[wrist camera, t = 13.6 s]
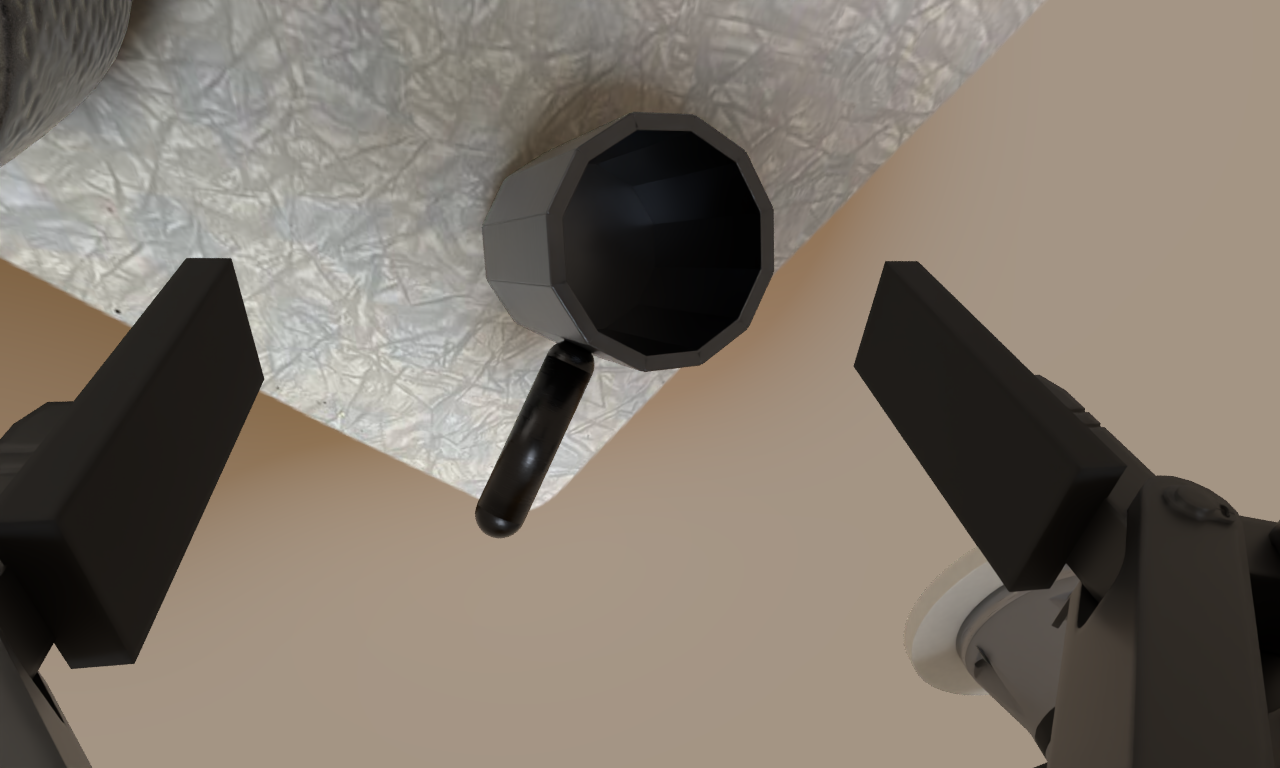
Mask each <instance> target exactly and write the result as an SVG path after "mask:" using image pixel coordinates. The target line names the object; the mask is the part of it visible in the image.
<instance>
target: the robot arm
mask: <svg viewBox="0 0 1280 768" xmlns="http://www.w3.org/2000/svg"><path fill="white" fill-rule="evenodd" d="M854 368H855V369H856V370H857V372H858V373H859V375H860V376H861V378H862V379H863V381H864V382H865V384H866V385H867V386H868V388H869V389H870V391H871V392H872V394H873V395H874V397H875V398H876V399H877V401H878V402H879V404H880V405H881V407H882V408H883V410H884V411H885V412H886V414H887V415H888V417H889V418H890V420H891V421H892V423H893V424H894V426H895V427H896V429H897V430H898V432H899V433H900V434H901V436H902V437H903V439H904V440H905V442H906V443H907V445H908V446H909V448H910V449H911V450H912V452H913V453H914V455H915V456H916V458H917V459H918V461H919V462H920V464H921V465H922V466H923V468H924V469H925V471H926V472H927V474H928V475H929V476H930V478H931V479H932V481H933V482H934V484H935V485H936V487H937V488H938V490H939V491H940V493H941V494H942V495H943V497H944V498H945V500H946V501H947V503H948V504H949V506H950V507H951V509H952V510H953V512H954V513H955V514H956V516H957V517H958V519H959V520H960V522H961V523H962V524H963V526H964V527H965V529H966V530H967V532H968V533H969V535H970V536H971V538H972V539H973V541H974V542H975V543H976V545H977V546H978V548H979V549H980V551H981V552H982V554H983V555H984V557H985V558H986V559H987V561H988V562H989V564H990V565H991V567H992V568H993V570H994V571H995V573H996V574H997V575H998V577H999V578H1000V580H1001V581H1002V583H1003V584H1004V585H1002V586H1001V587H999V588H998V589H996V590H995V591H994V592H992V593H991V594H989V595H988V596H987V597H986V598H985V599H983V600H982V601H981V602H980V603H979V604H978V605H977V606H976V607H975V608H974V609H973V610H972V611H971V612H970V614H969V615H968V616H967V617H966V619H965V620H964V622H963V623H962V625H961V627H960V629H959V631H958V634H957V638H956V650H957V653H958V655H959V657H960V659H961V661H962V662H963V664H964V666H965V668H966V669H967V671H968V673H969V674H970V675H971V676H972V677H973V678H974V680H975V681H976V682H977V683H978V684H979V685H980V686H981V687H982V688H983V689H984V690H985V691H986V692H988V693H989V694H990V695H991V696H992V697H993V698H994V699H995V700H996V701H997V702H998V703H999V704H1000V705H1001V706H1002V707H1004V709H1006V710H1007V711H1008V712H1009V713H1010V714H1011V715H1012V716H1013V717H1014V718H1015V719H1016V720H1017V721H1018V722H1019V723H1020V724H1021V725H1022V726H1023V727H1024V728H1026V729H1027V730H1028V732H1029V733H1030V734H1031V735H1032V737H1033V738H1034V740H1035V742H1036V743H1037V745H1038V747H1039V748H1040V750H1041V751H1042V753H1043V755H1044V756H1045V758H1046V760H1047V763H1045V764H1042V765H1040V766H1037V767H1034V768H1280V520H1279V522H1278V523H1277V522H1272V521H1266V520H1261V519H1255V518H1250V517H1244V516H1239V514H1238V512H1236V510H1235V509H1233V507H1232V506H1231V505H1230V504H1229V503H1228V502H1227V501H1226V500H1224V499H1223V498H1221V497H1220V496H1218V495H1217V494H1215V493H1214V492H1213V491H1211V490H1209V489H1207V488H1205V487H1203V486H1201V485H1199V484H1196V483H1194V482H1192V481H1189V480H1185V479H1181V478H1178V477H1174V476H1155V475H1154V474H1153V473H1152V472H1151V471H1150V470H1149V469H1148V468H1147V467H1146V466H1145V465H1144V464H1143V463H1142V462H1141V461H1140V460H1139V459H1138V458H1136V457H1135V456H1134V455H1133V454H1132V453H1131V452H1130V451H1129V450H1128V449H1127V448H1126V447H1125V446H1124V445H1123V444H1122V443H1121V442H1120V441H1119V440H1117V439H1116V438H1115V437H1114V436H1113V435H1112V434H1111V433H1110V432H1109V431H1108V430H1107V429H1106V428H1105V427H1100V422H1099V421H1097V420H1096V419H1095V418H1094V417H1093V416H1092V415H1091V414H1090V413H1089V412H1085V408H1084V407H1083V406H1082V405H1081V404H1079V403H1078V402H1077V401H1076V400H1075V399H1074V398H1073V397H1072V396H1071V395H1070V394H1069V393H1068V392H1067V391H1066V390H1064V389H1062V388H1061V387H1059V386H1057V385H1056V384H1054V383H1052V382H1051V381H1049V380H1047V379H1046V378H1044V377H1042V376H1040V375H1034V374H1033V373H1032V372H1031V371H1030V370H1028V368H1027V367H1025V366H1024V365H1023V364H1022V363H1021V362H1020V361H1019V360H1018V359H1017V358H1016V357H1015V356H1014V355H1013V354H1012V353H1011V352H1010V351H1009V350H1008V349H1007V348H1006V347H1005V346H1004V345H1003V344H1002V343H1001V342H1000V341H999V340H998V339H997V338H996V337H995V336H994V335H993V334H992V333H991V332H990V331H989V330H988V329H987V328H986V327H985V326H984V325H982V324H981V323H980V322H979V321H978V320H977V319H976V318H975V317H974V316H973V315H972V314H971V313H970V312H969V311H968V310H967V309H966V308H965V307H964V306H963V305H962V304H961V303H960V302H959V301H958V300H957V299H956V298H955V297H954V296H953V295H952V294H951V293H950V292H949V291H948V290H947V289H945V287H943V285H942V284H940V283H939V282H938V281H937V280H936V279H935V278H934V277H933V276H932V275H931V274H930V273H929V272H928V271H927V270H926V269H925V268H924V267H923V266H922V265H921V264H920V263H919V262H917V261H908V262H907V261H886V262H885V264H884V268H883V271H882V274H881V278H880V281H879V284H878V288H877V291H876V294H875V297H874V300H873V304H872V307H871V311H870V314H869V317H868V321H867V324H866V327H865V330H864V334H863V337H862V340H861V343H860V347H859V350H858V353H857V357H856V360H855V363H854ZM263 381H264V376H263V373H262V369H261V365H260V362H259V358H258V354H257V351H256V347H255V343H254V340H253V336H252V332H251V329H250V325H249V321H248V317H247V314H246V310H245V306H244V303H243V299H242V295H241V292H240V288H239V284H238V281H237V277H236V273H235V270H234V266H233V262H232V259H231V258H186V259H185V261H184V262H183V263H182V264H181V266H180V267H179V268H178V270H177V271H176V272H175V273H174V275H173V276H172V277H171V278H170V280H169V281H168V282H167V284H166V285H165V286H164V287H163V289H162V290H161V291H160V292H159V294H158V295H157V296H156V297H155V299H154V300H153V301H152V303H151V304H150V305H149V306H148V308H147V309H146V310H145V311H144V313H143V314H142V315H141V317H140V318H139V319H138V320H137V322H136V323H135V324H134V325H133V327H132V328H131V329H130V330H129V332H128V333H127V334H126V336H125V337H124V338H123V339H122V341H121V342H120V343H119V345H118V346H117V347H116V348H115V350H114V351H113V352H112V353H111V355H110V356H109V357H108V359H107V360H106V361H105V362H104V364H103V365H102V366H101V367H100V369H99V370H98V371H97V372H96V374H95V375H94V377H93V378H92V379H91V380H90V381H89V383H88V384H87V385H86V387H85V388H84V389H83V390H82V392H81V393H80V394H79V395H78V397H77V398H76V399H75V400H74V401H69V402H47V403H45V404H44V405H42V406H41V407H39V408H37V409H36V410H34V411H33V412H31V413H30V414H28V415H27V416H25V417H24V418H22V419H21V420H19V421H18V422H16V423H14V424H13V425H12V426H11V428H10V429H9V430H8V431H7V432H6V433H5V434H4V436H3V437H2V438H1V439H0V768H92V766H91V765H90V763H89V761H88V759H87V757H86V755H85V754H84V752H83V750H82V748H81V746H80V744H79V742H78V740H77V738H76V737H75V735H74V733H73V731H72V729H71V727H70V726H69V724H68V722H67V720H66V718H65V716H64V714H63V712H62V711H61V709H60V707H59V705H58V703H57V701H56V700H55V698H54V696H53V694H52V692H51V690H50V688H49V686H48V685H47V683H46V681H45V680H44V678H43V677H42V676H41V674H40V673H39V671H38V670H39V668H40V666H41V664H42V662H43V661H44V659H45V657H46V656H47V654H48V652H49V650H50V649H51V647H52V645H53V643H54V644H55V645H56V647H57V648H58V650H59V651H60V653H61V654H62V656H63V657H64V659H65V661H66V662H67V664H68V665H69V667H70V668H71V669H76V668H87V667H99V666H112V665H124V664H134V663H135V661H136V659H137V657H138V655H139V653H140V650H141V648H142V646H143V644H144V642H145V639H146V637H147V635H148V633H149V631H150V629H151V626H152V624H153V622H154V620H155V618H156V615H157V613H158V611H159V609H160V607H161V604H162V602H163V600H164V598H165V596H166V593H167V591H168V589H169V587H170V585H171V582H172V580H173V578H174V576H175V574H176V572H177V569H178V567H179V565H180V563H181V560H182V558H183V556H184V554H185V552H186V549H187V547H188V545H189V543H190V541H191V539H192V536H193V534H194V532H195V530H196V528H197V525H198V523H199V521H200V519H201V517H202V515H203V512H204V510H205V508H206V506H207V504H208V501H209V499H210V497H211V495H212V493H213V490H214V488H215V486H216V484H217V482H218V479H219V477H220V475H221V473H222V471H223V469H224V466H225V464H226V462H227V460H228V458H229V455H230V453H231V451H232V449H233V447H234V444H235V442H236V440H237V438H238V436H239V433H240V431H241V429H242V427H243V425H244V423H245V420H246V418H247V416H248V414H249V412H250V409H251V407H252V405H253V403H254V401H255V398H256V396H257V394H258V392H259V390H260V387H261V385H262V383H263Z"/></svg>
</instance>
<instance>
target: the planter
mask: <svg viewBox="0 0 1280 768" xmlns="http://www.w3.org/2000/svg"><path fill="white" fill-rule="evenodd" d="M131 5H132V0H0V167H2V166H3V165H5V164H6V163H8V162H9V161H10V160H12V159H13V158H15V157H16V156H18V155H19V154H20V153H22V152H23V151H24V150H25V149H27V148H28V147H29V146H31V145H32V144H33V143H35V142H36V141H37V140H39V139H40V138H41V137H43V136H44V135H45V134H46V133H48V132H49V131H50V130H51V129H52V128H54V127H55V126H56V125H57V124H58V123H59V122H61V121H62V120H63V119H64V118H65V117H67V116H68V115H69V114H70V113H71V112H72V111H73V110H74V109H75V108H76V107H77V106H79V105H80V104H81V103H82V102H83V101H84V100H85V99H86V98H87V97H88V96H89V95H90V94H91V93H92V91H93V90H94V89H95V88H96V86H97V85H98V84H99V83H100V81H101V80H102V79H103V77H104V76H105V74H106V73H107V71H108V70H109V68H110V67H111V65H112V64H113V62H114V61H115V59H116V58H117V55H118V53H119V50H120V47H121V45H122V42H123V39H124V37H125V34H126V31H127V28H128V23H129V17H130V11H131Z"/></svg>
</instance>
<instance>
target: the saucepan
mask: <svg viewBox="0 0 1280 768" xmlns="http://www.w3.org/2000/svg"><path fill="white" fill-rule="evenodd" d="M772 208H773V207H772V204H771V202H770V200H769V198H768V196H767V194H766V192H765V190H764V188H763V186H762V184H761V182H760V180H759V178H758V176H757V173H756V171H755V169H754V167H753V165H752V163H751V161H750V159H749V157H748V155H747V153H746V152H745V150H744V149H742V148H741V147H739V146H738V145H737V144H735V143H734V142H732V141H731V140H730V139H728V138H727V137H725V136H724V135H723V134H721V133H720V132H718V131H717V130H716V129H714V128H713V127H711V126H710V125H709V124H707V123H706V122H704V121H703V120H702V119H700V118H699V117H697V116H696V115H693V114H672V113H645V112H633V113H629V114H627V115H625V116H623V117H621V118H619V119H616V120H614V121H612V122H610V123H608V124H606V125H603V126H601V127H599V128H597V129H595V130H593V131H590V132H588V133H586V134H584V135H582V136H580V137H577V138H575V139H573V140H571V141H569V142H567V143H565V144H562V145H560V146H558V147H556V148H554V149H552V150H549V151H547V152H545V153H544V154H542V155H540V156H539V157H537V158H536V159H534V160H533V161H531V162H530V163H528V164H526V165H525V166H523V167H522V168H520V169H519V170H517V171H515V172H514V173H512V174H511V175H509V176H508V177H506V178H505V179H504V180H503V183H502V185H501V187H500V189H499V191H498V193H497V195H496V197H495V199H494V202H493V204H492V206H491V208H490V210H489V212H488V214H487V216H486V218H485V221H484V223H483V227H482V235H483V247H484V259H485V271H486V279H487V282H488V283H489V285H490V286H491V288H492V289H493V290H494V292H495V293H496V295H497V296H498V298H499V299H500V301H501V302H502V304H503V305H504V307H505V308H506V310H507V311H508V313H509V314H510V316H511V317H512V319H513V320H514V322H516V323H517V324H519V325H521V326H523V327H525V328H527V329H529V330H531V331H533V332H535V333H537V334H539V335H541V336H544V337H546V338H548V339H550V340H552V341H554V342H556V343H557V344H555V345H554V346H553V347H552V348H551V349H550V350H549V352H548V354H547V356H546V358H545V360H544V362H543V364H542V366H541V369H540V371H539V373H538V375H537V377H536V379H535V381H534V383H533V386H532V388H531V390H530V392H529V394H528V396H527V398H526V401H525V403H524V405H523V407H522V409H521V411H520V413H519V416H518V418H517V420H516V422H515V424H514V426H513V428H512V431H511V433H510V435H509V437H508V439H507V441H506V443H505V446H504V448H503V450H502V452H501V454H500V456H499V458H498V461H497V463H496V465H495V467H494V469H493V471H492V473H491V476H490V478H489V480H488V482H487V484H486V486H485V488H484V491H483V493H482V495H481V497H480V499H479V501H478V504H477V507H476V511H475V517H476V521H477V524H478V526H479V528H480V529H481V530H482V531H483V532H484V533H485V534H487V535H489V536H491V537H495V538H505V537H509V536H511V535H513V534H514V533H516V532H517V531H518V530H519V529H520V528H521V526H522V524H523V523H524V521H525V518H526V516H527V514H528V512H529V510H530V508H531V505H532V503H533V501H534V499H535V497H536V495H537V493H538V490H539V488H540V486H541V484H542V482H543V480H544V477H545V475H546V473H547V471H548V469H549V467H550V465H551V462H552V460H553V458H554V456H555V454H556V452H557V449H558V447H559V445H560V443H561V441H562V439H563V437H564V434H565V432H566V430H567V428H568V426H569V424H570V421H571V419H572V417H573V415H574V413H575V411H576V408H577V406H578V404H579V402H580V400H581V398H582V396H583V393H584V391H585V389H586V387H587V385H588V383H589V380H590V378H591V376H592V374H593V371H594V358H593V355H594V356H597V357H600V358H603V359H606V360H609V361H612V362H615V363H618V364H621V365H624V366H627V367H630V368H633V369H636V370H639V371H644V372H648V371H657V370H665V369H673V368H682V367H690V366H699V365H701V364H703V363H705V362H706V361H707V360H708V359H710V358H711V357H712V356H713V355H715V354H716V353H717V352H719V351H720V350H721V349H722V348H724V347H725V346H726V345H728V344H729V343H730V342H731V341H733V340H734V339H735V338H736V337H738V336H739V335H740V334H742V333H743V332H744V331H745V330H747V328H748V327H749V325H750V323H751V321H752V319H753V316H754V315H755V312H756V310H757V308H758V306H759V304H760V301H761V299H762V297H763V295H764V293H765V290H766V288H767V286H768V284H769V282H770V280H771V277H772V275H773V272H774V210H773V209H772Z"/></svg>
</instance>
